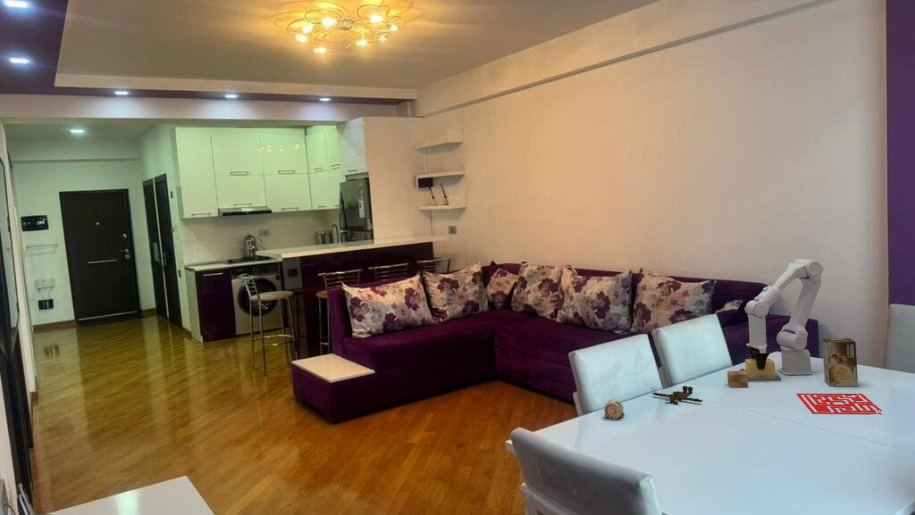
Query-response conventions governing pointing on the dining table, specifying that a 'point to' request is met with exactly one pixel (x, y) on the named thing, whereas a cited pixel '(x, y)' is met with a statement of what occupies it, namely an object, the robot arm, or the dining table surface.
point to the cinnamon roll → (614, 409)
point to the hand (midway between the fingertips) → (759, 367)
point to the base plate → (763, 377)
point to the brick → (753, 370)
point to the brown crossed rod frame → (679, 395)
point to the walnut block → (737, 379)
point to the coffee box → (840, 362)
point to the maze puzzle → (823, 409)
